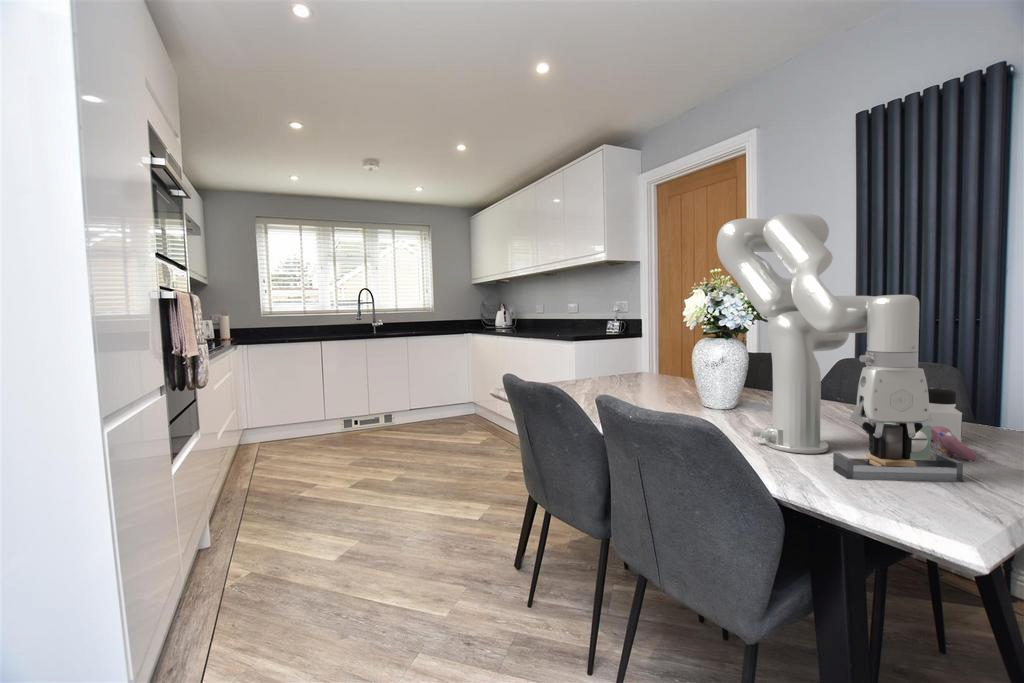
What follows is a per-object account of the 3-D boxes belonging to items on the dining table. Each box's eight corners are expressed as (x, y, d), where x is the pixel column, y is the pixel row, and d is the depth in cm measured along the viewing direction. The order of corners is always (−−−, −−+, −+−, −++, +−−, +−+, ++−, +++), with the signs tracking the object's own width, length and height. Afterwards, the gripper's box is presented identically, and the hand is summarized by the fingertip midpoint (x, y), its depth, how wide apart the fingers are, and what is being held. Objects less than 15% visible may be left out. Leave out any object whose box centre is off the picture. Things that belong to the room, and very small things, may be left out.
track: (847, 478, 87) (847, 460, 86) (833, 470, 91) (833, 452, 91) (962, 481, 84) (963, 462, 83) (941, 472, 88) (942, 454, 88)
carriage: (885, 471, 85) (885, 429, 85) (865, 461, 91) (866, 422, 90) (915, 472, 84) (916, 429, 84) (894, 461, 90) (894, 422, 90)
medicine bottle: (962, 443, 107) (963, 391, 106) (921, 439, 111) (922, 390, 110) (953, 435, 113) (954, 387, 112) (915, 432, 117) (916, 385, 116)
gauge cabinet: (898, 465, 93) (899, 419, 93) (878, 455, 100) (879, 412, 99) (932, 466, 92) (933, 419, 92) (909, 456, 99) (910, 412, 98)
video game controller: (934, 454, 104) (917, 425, 105) (958, 447, 103) (941, 418, 104) (953, 467, 96) (934, 436, 97) (980, 460, 94) (960, 428, 95)
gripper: (854, 363, 84) (853, 462, 85) (957, 362, 82) (954, 464, 83) (832, 359, 91) (831, 450, 92) (926, 358, 89) (923, 451, 90)
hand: (889, 455), depth 87 cm, fingers closed on carriage, 3 cm apart
